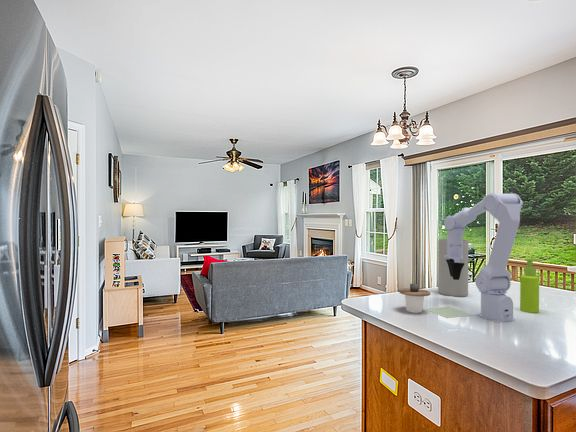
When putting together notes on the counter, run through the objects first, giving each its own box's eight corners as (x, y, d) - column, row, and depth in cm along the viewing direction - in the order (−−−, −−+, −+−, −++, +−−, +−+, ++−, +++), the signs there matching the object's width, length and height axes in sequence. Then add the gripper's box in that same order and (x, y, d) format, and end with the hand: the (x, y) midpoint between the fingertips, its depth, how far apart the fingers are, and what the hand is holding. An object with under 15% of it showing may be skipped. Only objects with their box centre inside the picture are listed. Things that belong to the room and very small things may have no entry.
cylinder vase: (474, 295, 153) (474, 240, 153) (453, 298, 149) (454, 241, 149) (451, 290, 165) (452, 238, 165) (432, 292, 160) (432, 239, 160)
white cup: (427, 314, 124) (427, 295, 124) (408, 314, 124) (408, 294, 124) (420, 309, 131) (420, 291, 131) (402, 308, 131) (402, 290, 131)
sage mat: (474, 316, 122) (474, 315, 122) (446, 318, 118) (446, 317, 118) (449, 307, 133) (449, 306, 133) (423, 309, 130) (423, 308, 130)
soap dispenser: (545, 313, 126) (545, 259, 126) (524, 312, 127) (524, 259, 127) (537, 309, 132) (537, 257, 132) (517, 308, 133) (517, 257, 133)
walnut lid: (436, 295, 124) (436, 286, 124) (411, 297, 120) (411, 288, 120) (417, 289, 134) (417, 280, 134) (393, 290, 131) (393, 282, 131)
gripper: (442, 243, 148) (442, 274, 148) (446, 246, 134) (446, 280, 134) (460, 244, 146) (459, 275, 146) (466, 246, 132) (466, 281, 132)
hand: (454, 278), depth 140 cm, fingers open, 7 cm apart
